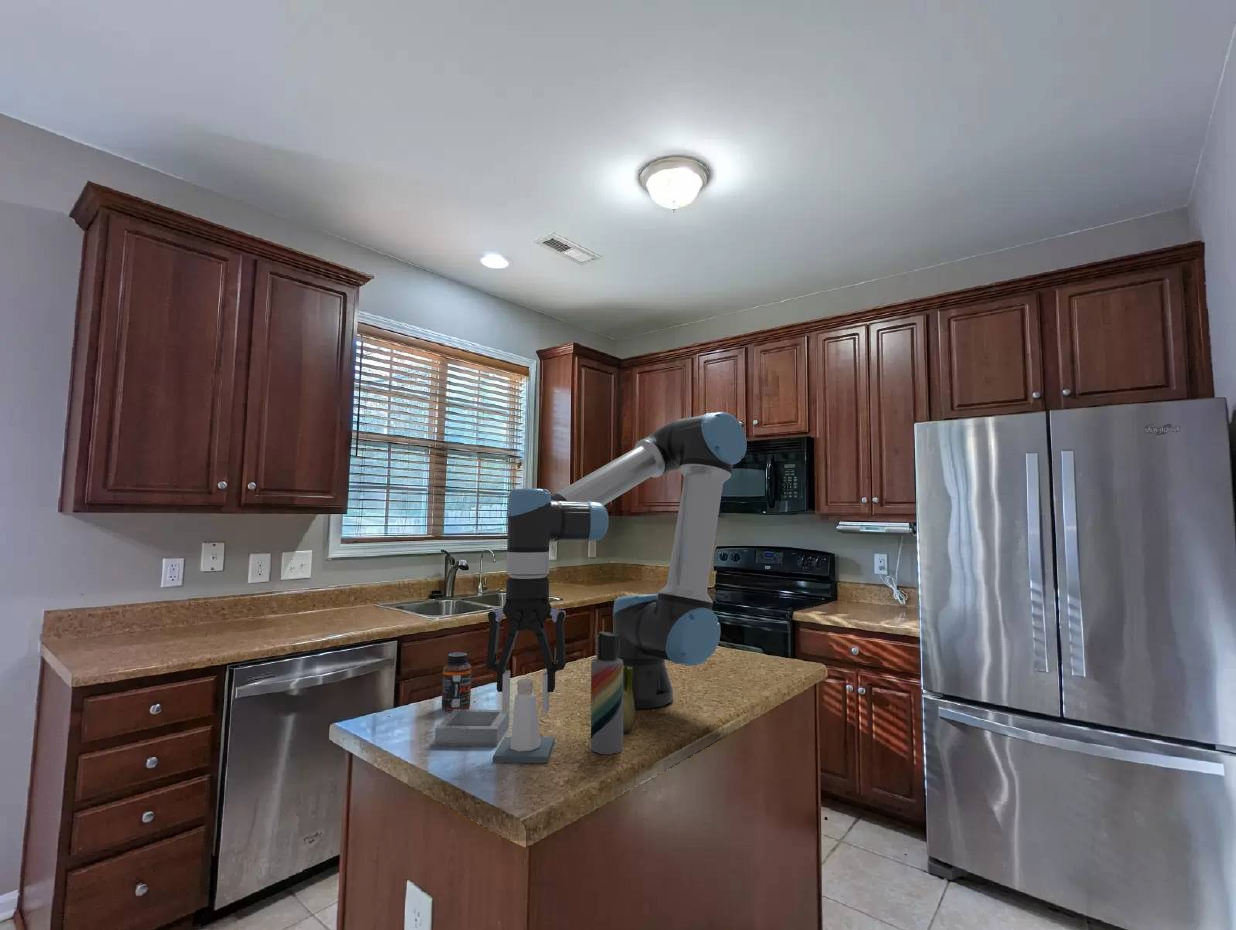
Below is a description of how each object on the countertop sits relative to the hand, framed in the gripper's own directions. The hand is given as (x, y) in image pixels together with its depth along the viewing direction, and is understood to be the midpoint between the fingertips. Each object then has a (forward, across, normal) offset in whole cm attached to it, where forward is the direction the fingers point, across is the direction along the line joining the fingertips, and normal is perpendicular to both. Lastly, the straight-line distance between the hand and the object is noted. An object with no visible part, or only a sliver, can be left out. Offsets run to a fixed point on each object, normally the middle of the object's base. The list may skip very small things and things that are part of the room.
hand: (525, 710), depth 105 cm
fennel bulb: (+7, -16, -11) cm, 21 cm away
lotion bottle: (+7, -14, -2) cm, 16 cm away
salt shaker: (+6, 0, 0) cm, 6 cm away
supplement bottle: (+7, +19, -24) cm, 31 cm away
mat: (+7, 0, 0) cm, 7 cm away
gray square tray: (+7, +11, -8) cm, 15 cm away
